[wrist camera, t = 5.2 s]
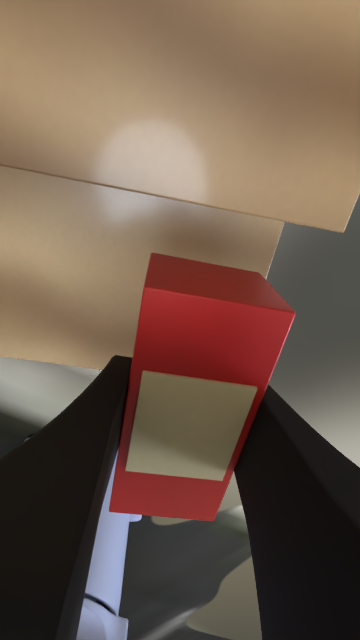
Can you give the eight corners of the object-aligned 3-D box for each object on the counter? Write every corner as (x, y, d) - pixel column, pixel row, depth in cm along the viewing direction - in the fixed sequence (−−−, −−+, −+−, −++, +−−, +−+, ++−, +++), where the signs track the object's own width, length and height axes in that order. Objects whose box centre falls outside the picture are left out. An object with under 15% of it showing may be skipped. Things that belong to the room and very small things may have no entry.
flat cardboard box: (226, 367, 20) (252, 457, 14) (-69, 327, 18) (-196, 410, 12) (336, 3, 12) (508, -169, 6) (-154, -137, 10) (-641, -603, 4)
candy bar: (204, 446, 13) (214, 525, 10) (121, 437, 13) (107, 515, 10) (260, 272, 10) (298, 314, 7) (150, 251, 10) (143, 287, 7)
